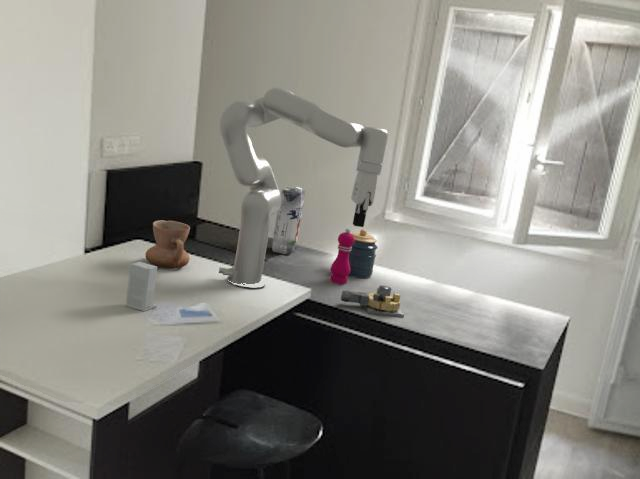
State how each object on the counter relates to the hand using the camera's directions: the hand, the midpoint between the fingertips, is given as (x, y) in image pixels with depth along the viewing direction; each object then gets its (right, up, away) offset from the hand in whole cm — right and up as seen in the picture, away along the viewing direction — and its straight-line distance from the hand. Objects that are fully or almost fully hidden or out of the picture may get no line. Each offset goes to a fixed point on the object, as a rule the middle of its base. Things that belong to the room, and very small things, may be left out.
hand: (358, 225), depth 216 cm
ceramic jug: (-63, -13, +16) cm, 66 cm away
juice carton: (-27, -9, +66) cm, 71 cm away
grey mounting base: (+8, -27, +11) cm, 31 cm away
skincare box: (-61, -23, -27) cm, 71 cm away
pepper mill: (-5, -20, +35) cm, 41 cm away
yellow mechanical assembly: (+4, -25, +10) cm, 28 cm away
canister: (+2, -18, +52) cm, 55 cm away
